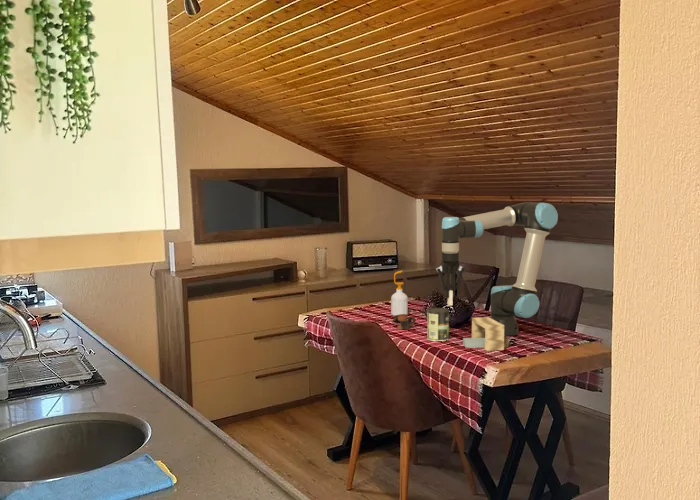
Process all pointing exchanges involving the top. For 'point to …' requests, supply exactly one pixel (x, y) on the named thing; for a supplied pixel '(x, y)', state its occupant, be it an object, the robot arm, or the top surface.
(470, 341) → the grey flat block
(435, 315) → the coffee can
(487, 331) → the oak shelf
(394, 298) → the soap bottle
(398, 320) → the pottery mug
